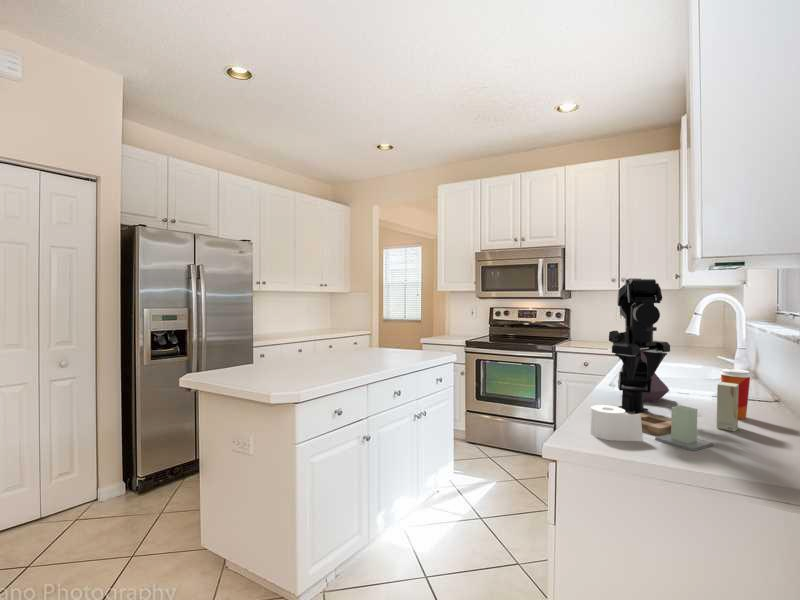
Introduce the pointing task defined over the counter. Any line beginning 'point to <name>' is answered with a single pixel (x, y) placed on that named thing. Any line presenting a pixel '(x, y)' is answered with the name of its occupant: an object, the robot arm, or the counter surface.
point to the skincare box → (727, 406)
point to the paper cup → (743, 381)
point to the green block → (684, 424)
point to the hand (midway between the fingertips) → (640, 377)
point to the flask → (654, 386)
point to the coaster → (690, 446)
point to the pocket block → (655, 424)
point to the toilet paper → (615, 424)
